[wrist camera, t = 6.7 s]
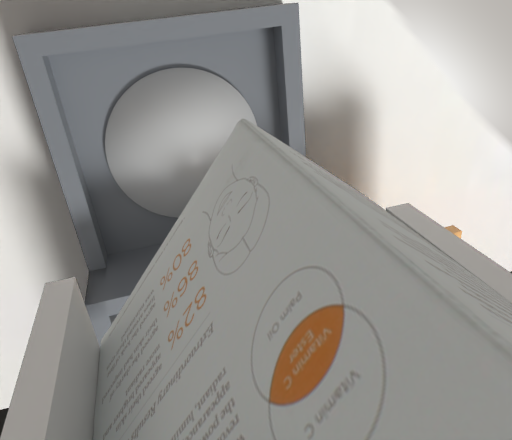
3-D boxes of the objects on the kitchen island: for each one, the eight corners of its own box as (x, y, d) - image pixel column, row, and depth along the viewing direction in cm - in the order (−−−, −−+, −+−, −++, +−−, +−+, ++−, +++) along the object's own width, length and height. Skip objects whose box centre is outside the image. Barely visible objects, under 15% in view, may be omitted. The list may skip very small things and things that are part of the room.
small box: (244, 385, 16) (415, 922, 6) (94, 337, 13) (24, 1100, 4) (383, 203, 14) (893, 583, 5) (241, 108, 11) (731, 522, 2)
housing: (133, 384, 34) (135, 453, 28) (23, 33, 22) (-9, 40, 17) (304, 337, 36) (334, 392, 31) (283, 3, 25) (325, 1, 20)
